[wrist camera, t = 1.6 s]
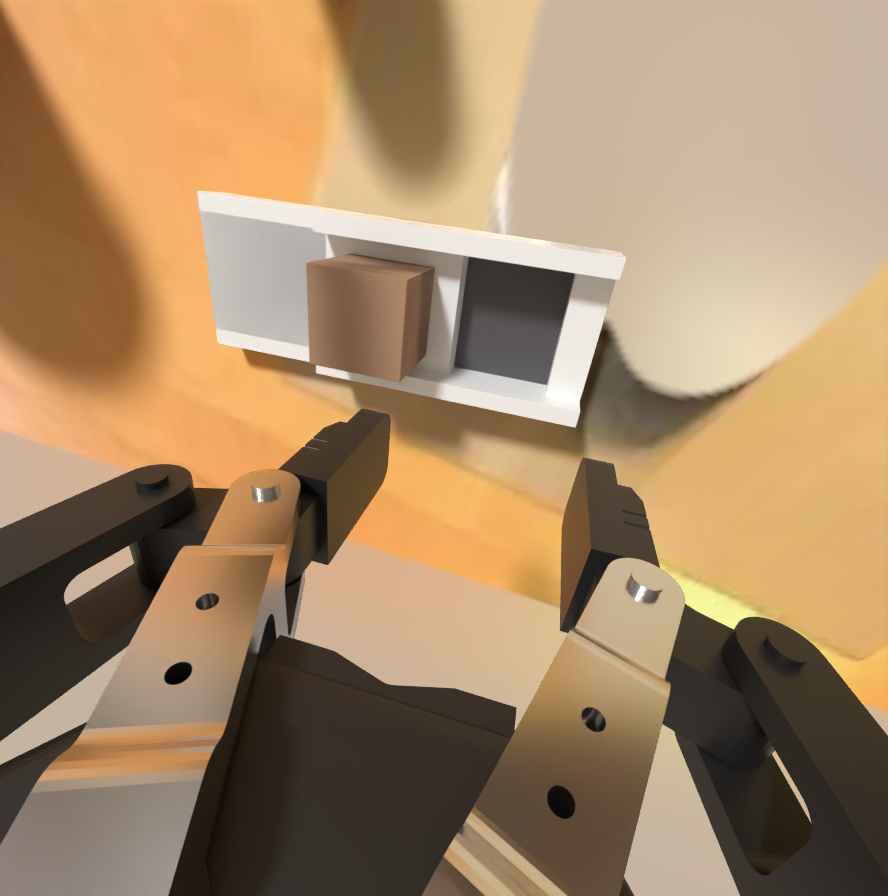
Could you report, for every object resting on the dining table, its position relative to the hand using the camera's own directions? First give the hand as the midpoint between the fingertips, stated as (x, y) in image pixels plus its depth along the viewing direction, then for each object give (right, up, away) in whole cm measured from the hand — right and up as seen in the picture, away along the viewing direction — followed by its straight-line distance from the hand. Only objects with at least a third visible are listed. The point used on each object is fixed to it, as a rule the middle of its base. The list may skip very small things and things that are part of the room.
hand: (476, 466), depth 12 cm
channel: (-4, +10, +16) cm, 19 cm away
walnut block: (-4, +9, +14) cm, 17 cm away
